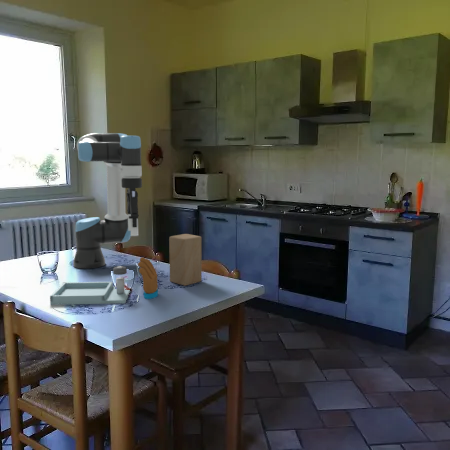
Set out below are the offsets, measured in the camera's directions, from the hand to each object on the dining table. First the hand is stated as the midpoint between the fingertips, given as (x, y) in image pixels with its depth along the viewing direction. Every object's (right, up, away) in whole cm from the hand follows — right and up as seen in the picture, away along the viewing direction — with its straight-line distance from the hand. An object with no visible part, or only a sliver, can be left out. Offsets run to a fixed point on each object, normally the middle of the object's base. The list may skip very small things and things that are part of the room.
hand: (133, 233), depth 173 cm
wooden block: (+18, -22, +23) cm, 37 cm away
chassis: (-16, -25, +2) cm, 29 cm away
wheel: (-5, -15, +1) cm, 16 cm away
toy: (+6, -25, +5) cm, 26 cm away
